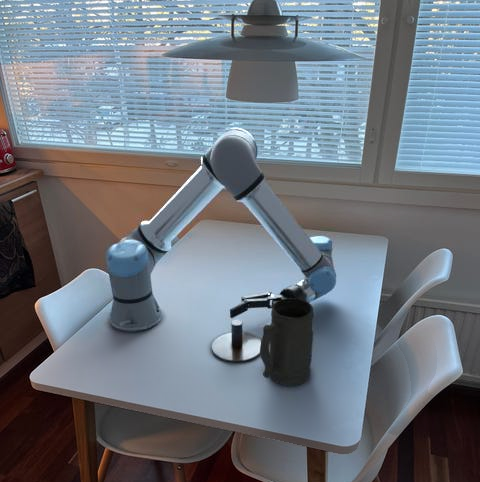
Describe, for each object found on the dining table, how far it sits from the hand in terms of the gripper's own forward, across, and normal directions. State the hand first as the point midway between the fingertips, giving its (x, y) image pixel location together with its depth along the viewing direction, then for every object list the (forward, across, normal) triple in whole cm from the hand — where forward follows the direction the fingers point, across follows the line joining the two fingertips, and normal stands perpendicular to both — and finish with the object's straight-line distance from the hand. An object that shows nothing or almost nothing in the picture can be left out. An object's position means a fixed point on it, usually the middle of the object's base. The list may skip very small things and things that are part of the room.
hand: (247, 322), depth 130 cm
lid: (+4, 0, +6) cm, 7 cm away
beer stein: (+5, +18, +6) cm, 20 cm away
